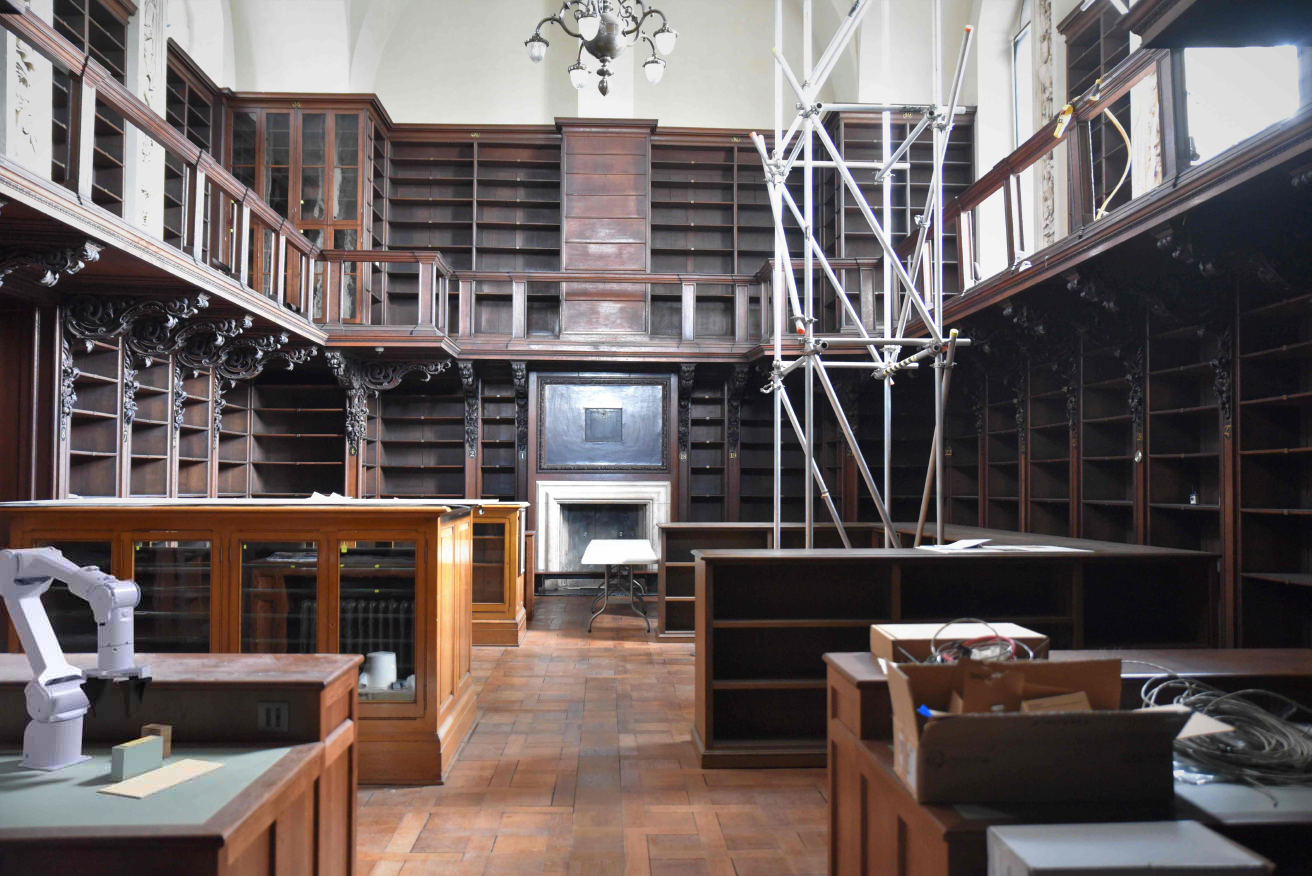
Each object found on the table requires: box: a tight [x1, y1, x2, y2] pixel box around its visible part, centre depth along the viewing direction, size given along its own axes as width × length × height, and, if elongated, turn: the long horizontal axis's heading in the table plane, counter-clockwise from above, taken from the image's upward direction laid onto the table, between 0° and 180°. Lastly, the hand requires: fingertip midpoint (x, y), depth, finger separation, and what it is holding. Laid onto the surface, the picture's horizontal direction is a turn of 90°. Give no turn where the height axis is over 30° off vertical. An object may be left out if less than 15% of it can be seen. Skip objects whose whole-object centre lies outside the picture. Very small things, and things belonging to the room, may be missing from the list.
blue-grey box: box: [110, 735, 163, 783], centre depth 151 cm, size 3×8×6 cm, turn 162°
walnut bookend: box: [140, 723, 172, 760], centre depth 161 cm, size 5×2×6 cm, turn 72°
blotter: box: [97, 758, 227, 800], centre depth 149 cm, size 10×18×1 cm, turn 162°
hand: (116, 717), depth 153 cm, fingers open, 7 cm apart
